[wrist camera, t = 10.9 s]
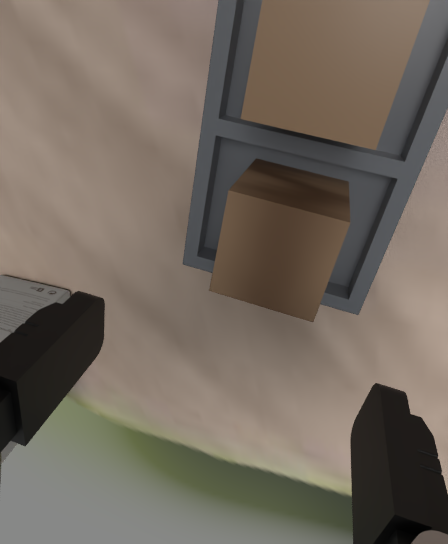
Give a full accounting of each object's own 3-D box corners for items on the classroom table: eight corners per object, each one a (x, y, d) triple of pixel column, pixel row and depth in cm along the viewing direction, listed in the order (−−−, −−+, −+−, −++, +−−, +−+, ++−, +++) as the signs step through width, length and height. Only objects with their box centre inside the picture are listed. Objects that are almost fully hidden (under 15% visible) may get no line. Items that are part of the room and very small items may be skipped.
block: (238, 240, 24) (209, 290, 19) (256, 158, 21) (228, 190, 16) (319, 263, 23) (313, 322, 18) (348, 181, 21) (350, 222, 16)
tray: (195, 247, 26) (151, 304, 20) (288, -367, 14) (245, -690, 8) (357, 293, 25) (361, 369, 19) (622, -348, 12) (886, -730, 6)
